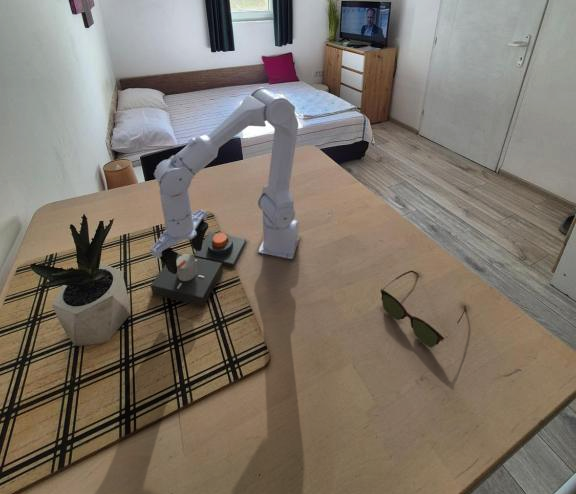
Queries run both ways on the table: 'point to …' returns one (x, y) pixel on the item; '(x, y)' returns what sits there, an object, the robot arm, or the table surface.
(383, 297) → the sunglasses
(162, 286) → the dial panel
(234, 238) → the button block
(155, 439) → the table surface
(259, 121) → the robot arm
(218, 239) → the button
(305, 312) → the table surface
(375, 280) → the table surface
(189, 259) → the timer dial
